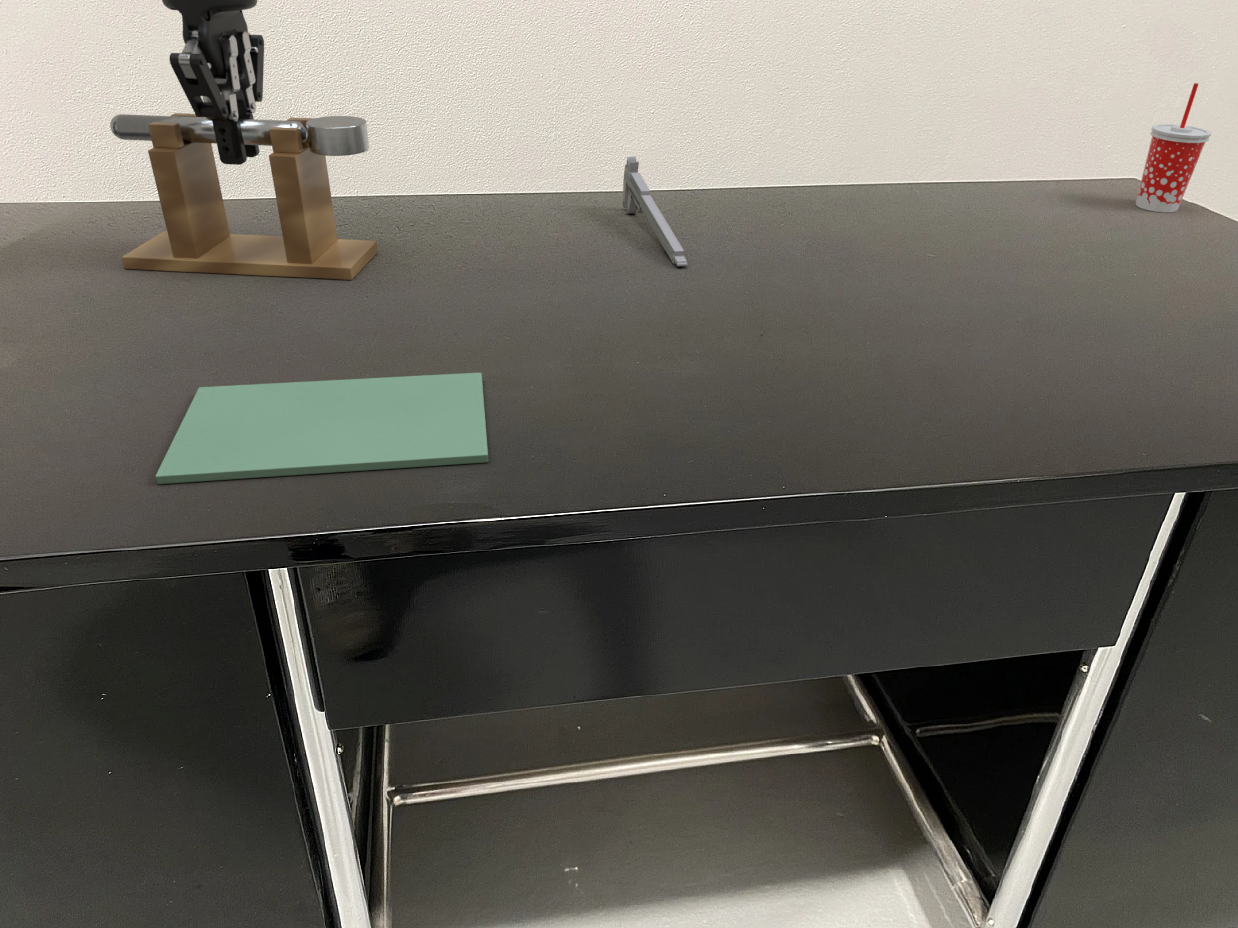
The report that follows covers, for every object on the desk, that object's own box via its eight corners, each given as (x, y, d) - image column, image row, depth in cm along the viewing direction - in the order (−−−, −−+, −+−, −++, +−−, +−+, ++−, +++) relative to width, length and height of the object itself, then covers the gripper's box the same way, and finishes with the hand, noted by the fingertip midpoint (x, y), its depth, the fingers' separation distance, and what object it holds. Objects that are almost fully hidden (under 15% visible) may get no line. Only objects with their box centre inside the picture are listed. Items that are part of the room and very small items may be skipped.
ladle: (99, 146, 83) (92, 118, 82) (130, 134, 88) (124, 107, 86) (358, 157, 82) (355, 129, 81) (376, 144, 86) (373, 117, 85)
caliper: (622, 209, 107) (623, 153, 104) (631, 209, 108) (632, 153, 104) (677, 269, 91) (680, 205, 87) (688, 268, 91) (691, 204, 88)
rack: (124, 269, 88) (85, 125, 81) (166, 242, 95) (133, 108, 88) (352, 280, 86) (331, 135, 80) (378, 252, 93) (361, 116, 86)
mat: (157, 484, 57) (154, 476, 56) (200, 394, 67) (198, 387, 66) (488, 462, 59) (488, 454, 59) (482, 379, 69) (481, 372, 69)
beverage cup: (1182, 217, 109) (1225, 90, 101) (1125, 208, 112) (1163, 84, 104) (1186, 205, 113) (1228, 82, 106) (1131, 197, 116) (1168, 77, 109)
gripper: (195, -61, 83) (234, 141, 92) (109, -53, 71) (163, 177, 80) (277, -58, 82) (308, 144, 91) (204, -51, 70) (248, 181, 79)
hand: (240, 159), depth 85 cm, fingers closed on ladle, 2 cm apart
